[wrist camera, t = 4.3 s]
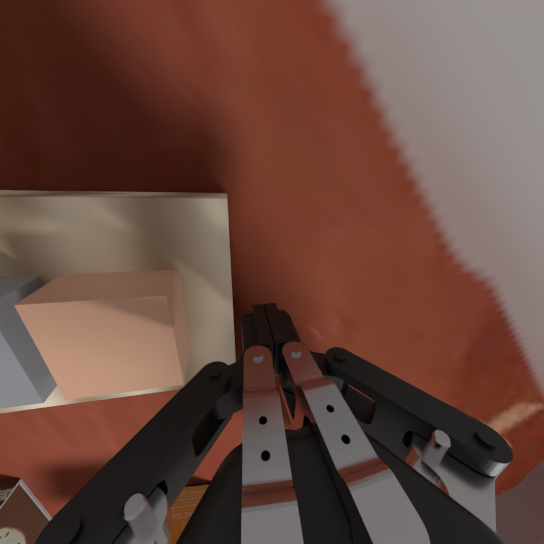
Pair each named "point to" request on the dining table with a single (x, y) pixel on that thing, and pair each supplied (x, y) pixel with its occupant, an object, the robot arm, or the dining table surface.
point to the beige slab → (129, 255)
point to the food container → (20, 514)
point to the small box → (184, 509)
